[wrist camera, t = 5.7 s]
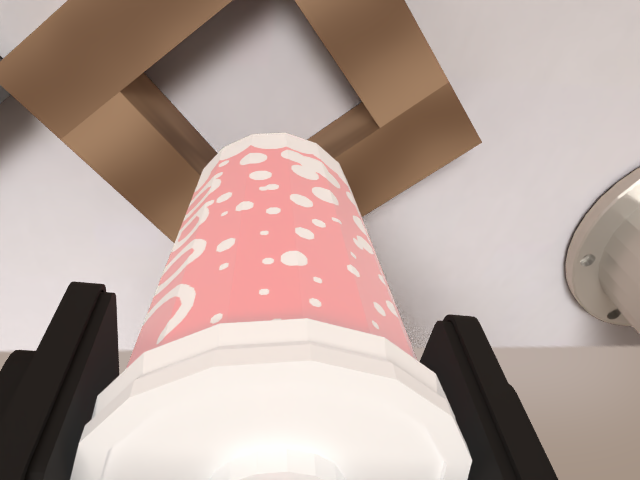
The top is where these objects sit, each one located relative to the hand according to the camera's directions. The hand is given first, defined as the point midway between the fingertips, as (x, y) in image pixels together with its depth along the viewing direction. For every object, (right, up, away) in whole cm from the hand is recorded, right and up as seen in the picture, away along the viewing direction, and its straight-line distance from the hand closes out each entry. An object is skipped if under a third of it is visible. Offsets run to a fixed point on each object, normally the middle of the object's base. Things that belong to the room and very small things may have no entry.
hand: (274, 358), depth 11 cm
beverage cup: (-1, +4, +5) cm, 6 cm away
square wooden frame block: (-2, +10, +14) cm, 17 cm away
